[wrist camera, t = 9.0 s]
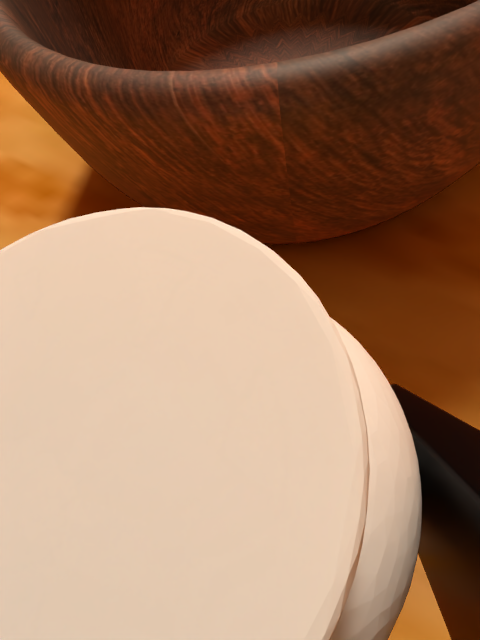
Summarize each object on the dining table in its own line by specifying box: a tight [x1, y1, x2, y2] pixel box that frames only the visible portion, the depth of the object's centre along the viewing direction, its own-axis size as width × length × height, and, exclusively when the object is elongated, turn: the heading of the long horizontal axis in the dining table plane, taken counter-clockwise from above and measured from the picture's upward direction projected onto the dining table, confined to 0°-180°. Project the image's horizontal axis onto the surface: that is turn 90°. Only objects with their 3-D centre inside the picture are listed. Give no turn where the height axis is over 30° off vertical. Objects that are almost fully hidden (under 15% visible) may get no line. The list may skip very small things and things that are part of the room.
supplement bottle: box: [0, 207, 422, 640], centre depth 9 cm, size 7×7×13 cm
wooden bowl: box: [0, 0, 480, 244], centre depth 19 cm, size 25×25×10 cm
